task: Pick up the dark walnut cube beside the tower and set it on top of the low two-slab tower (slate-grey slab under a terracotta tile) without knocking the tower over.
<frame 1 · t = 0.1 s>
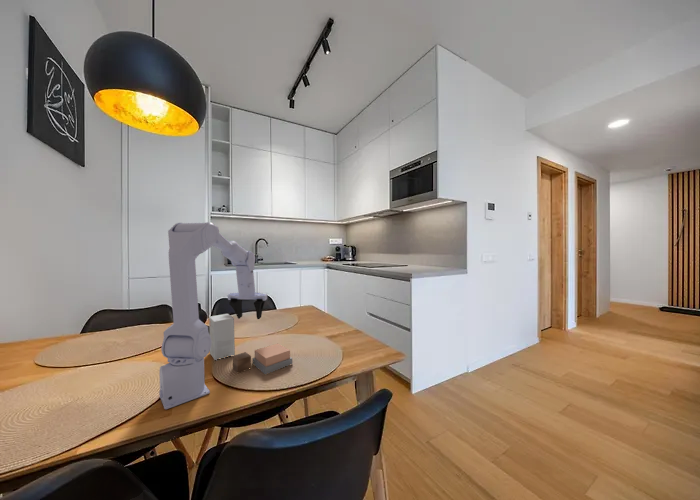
hand: (249, 317, 96), 11 cm above the table, tool pointing down, fingers open, 7 cm apart
small box: (222, 355, 89), on the table
terracotta tile: (272, 358, 81), point 2 cm above the table
slate slab: (272, 366, 81), on the table
walnut cube: (242, 368, 79), on the table
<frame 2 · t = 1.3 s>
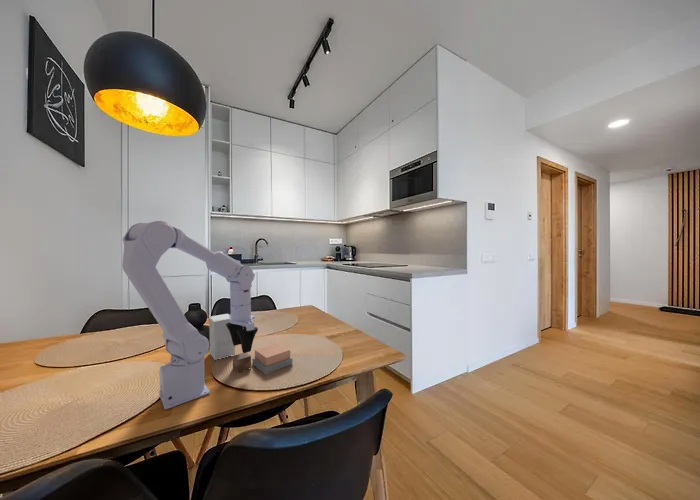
hand: (241, 348, 79), 6 cm above the table, tool pointing down, fingers open, 7 cm apart
terracotta tile: (272, 357, 82), point 2 cm above the table, touching slate slab
slate slab: (272, 365, 81), on the table, touching terracotta tile
everything else where it was.
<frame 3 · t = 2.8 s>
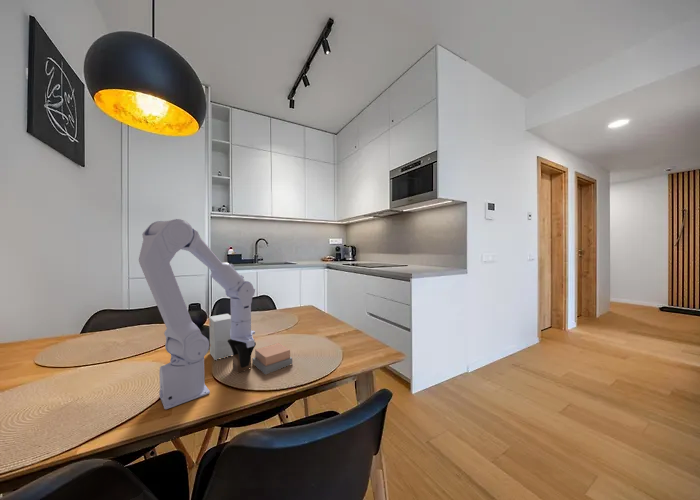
hand: (241, 363, 79), 1 cm above the table, tool pointing down, fingers closed on walnut cube, 4 cm apart
walnut cube: (242, 368, 79), on the table, touching gripper
everything else where it was.
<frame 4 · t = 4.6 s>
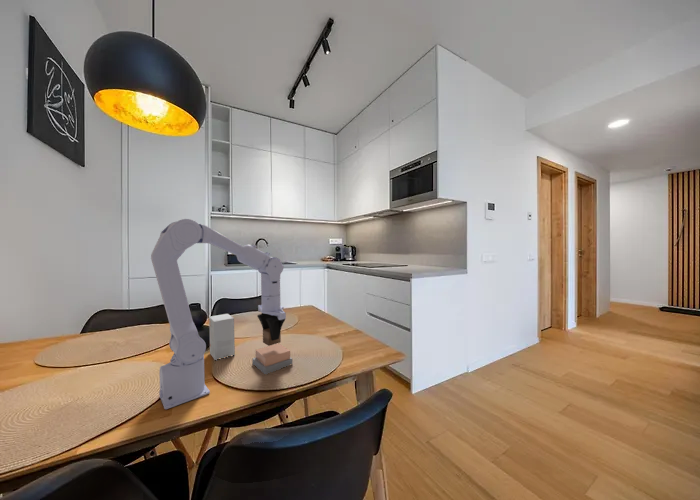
hand: (271, 337, 81), 8 cm above the table, tool pointing down, fingers closed on walnut cube, 4 cm apart
walnut cube: (271, 342, 81), point 7 cm above the table, touching gripper
everything else where it was.
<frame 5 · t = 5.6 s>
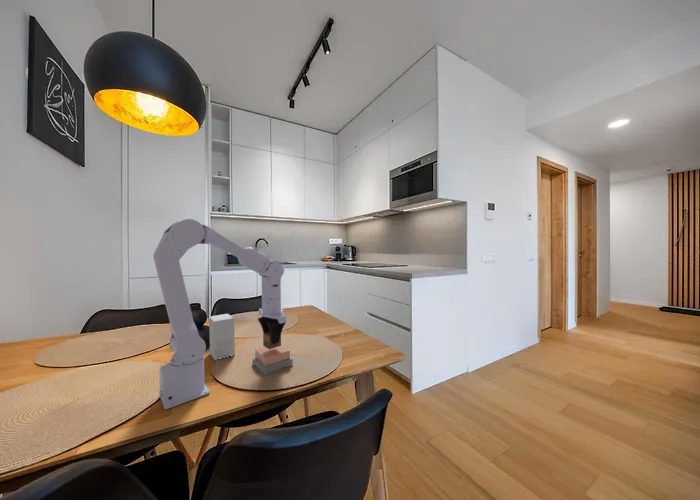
hand: (272, 340, 81), 7 cm above the table, tool pointing down, fingers closed on walnut cube, 4 cm apart
walnut cube: (272, 345, 81), point 6 cm above the table, touching gripper
everything else where it was.
when the fingers open (7 cm above the table, at t = 6.1 s): walnut cube drops 2 cm, point 4 cm above the table.
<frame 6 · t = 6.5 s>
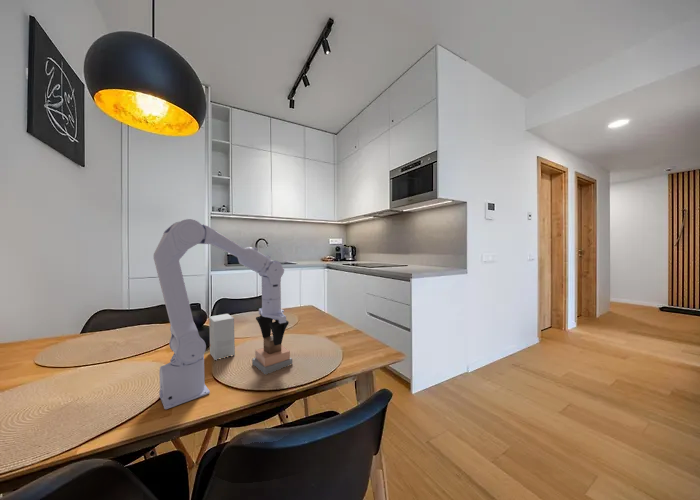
hand: (272, 340, 81), 7 cm above the table, tool pointing down, fingers open, 7 cm apart
walnut cube: (272, 350, 81), point 4 cm above the table
everything else where it was.
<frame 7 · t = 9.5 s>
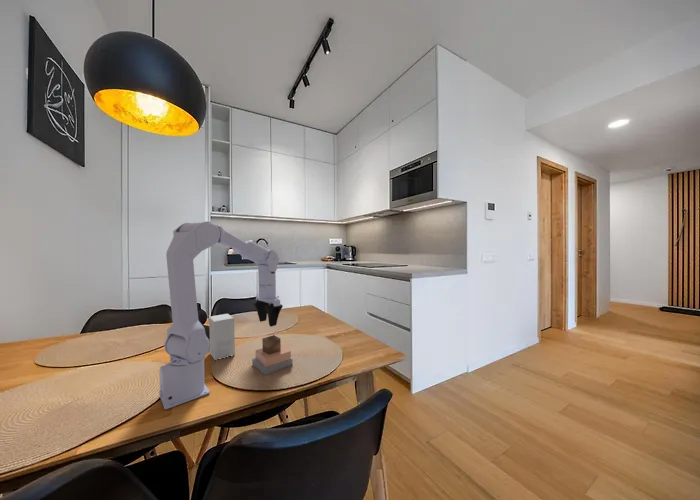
hand: (267, 323, 90), 10 cm above the table, tool pointing down, fingers open, 7 cm apart
terracotta tile: (273, 358, 81), point 2 cm above the table, touching slate slab, walnut cube
walnut cube: (271, 350, 81), point 4 cm above the table, touching terracotta tile
everything else where it was.
at the end: walnut cube 0.2 cm off-centre on the slate slab, point 5.0 cm above the slate slab's base; terracotta tile 0.3 cm off-centre on the slate slab, point 2.5 cm above the slate slab's base; slate slab moved 0.7 cm from its start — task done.
